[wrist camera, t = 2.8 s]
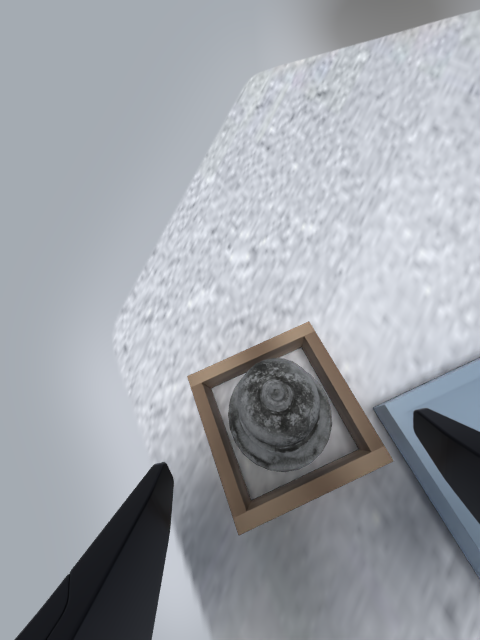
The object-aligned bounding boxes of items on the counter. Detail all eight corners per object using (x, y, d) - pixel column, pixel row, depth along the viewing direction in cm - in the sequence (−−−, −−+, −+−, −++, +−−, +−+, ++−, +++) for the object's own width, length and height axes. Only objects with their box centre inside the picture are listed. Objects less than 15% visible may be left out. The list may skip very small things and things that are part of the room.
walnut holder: (244, 520, 16) (238, 535, 13) (198, 382, 20) (187, 376, 17) (377, 457, 16) (393, 461, 14) (305, 334, 20) (309, 321, 18)
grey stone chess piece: (251, 476, 17) (197, 558, 6) (228, 388, 19) (159, 330, 8) (337, 448, 17) (446, 479, 6) (302, 364, 19) (332, 273, 8)
